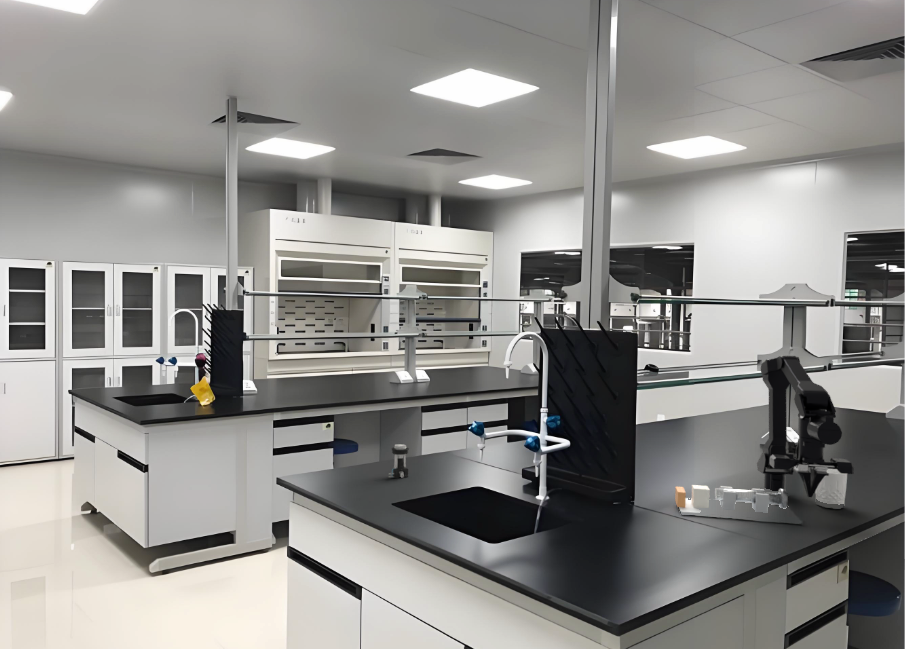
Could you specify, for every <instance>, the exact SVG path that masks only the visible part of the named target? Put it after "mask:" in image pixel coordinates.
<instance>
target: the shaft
mask: <svg viewBox="0 0 905 649" xmlns="http://www.w3.org/2000/svg"><path fill="white" fill-rule="evenodd" d="M723 491H735V492H736V502H745V503H752V502H755V496H756V493H763V494H768V495H769V504H771V505H779V507H780V508H783V509H786V508H787V506H788V502H789V500H788V499H789V498H788V497H789V496H787V493H788V492H787V489H786V488H785V489H779V491H778V492H765V491H752V489H751V490H750V489H749V490H748V489H737V488H736V489H734V488H733V489H724V488H720V487H715V488H714V498H715V499H714V500H719V501H720V500H723Z"/></svg>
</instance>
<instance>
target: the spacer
mask: <svg viewBox="0 0 905 649" xmlns="http://www.w3.org/2000/svg"><path fill="white" fill-rule="evenodd" d="M710 491H711V489H710V488H709V486H708V485H700V484H699V485H697V484H691V497H690V498H691V503H692V505H693V507H697V508H709V500H710V498H711V497H710Z"/></svg>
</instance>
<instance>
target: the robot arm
mask: <svg viewBox="0 0 905 649" xmlns="http://www.w3.org/2000/svg"><path fill="white" fill-rule="evenodd" d="M760 373H761V375H762V381H763V383H764V384H765V386H766V388H767V389H768V439H767V440H766V442H765V443H764V444H763V446H762V452H761V454H760V457H759V458H758V460H757V463H756V466H757V471H759V472H760V473H762V474H763V488H766V489H770V490H772V491H779V489H786V475H791V476H792V475H794V472H795V473H797V474H798V475H799V476H800V478H801V481H802V483H803V487H804V489H805V493H806V495H807V497H808V498H812V497H813V496H814V494H815V491H816V489H817V487H818V485H819V483H820V482H821V481H822V479H823V478H824V476H829V473H827V470H828V469H837V470H838V471H839V472H840V473H843V474H847V475H854V472H855V467H854V464H853V463H852V462H851V461H849V460H848V459H846V458H837V457H834V458H833V457H831V458H830V460H829V461H827V460H825V459H824V453H825V452H824V450H825V448H826V445H827V446H828V445H836V444H837V443H839V442H840V440H841V439H842V436H843V432H842V428H841V427H840V425H839V424H838V423H837V422H834V420H835V418H836V412H837V411H836V408H835V406H834V405H835V404H834V403H833V399H832V397H831V395H830V393H829V392H828V391H827V390H826V389H825V388H824V387H823V386H822V385H820V384H817V383H815V382H814V381H813V380H812V378H811V377H810V376H809V374H808V373H807V371H806V369H805V368H804V367H803V366H802V364H801V361H800V357H799V356H796V355H781V356H779V355H778V357H777V356H776V357H774V358H770V359H769V358H767V359H765V360H764V361H763V362H762V363H761V365H760ZM789 386H791V387H792V389H793V390H794V392H795V395H794V399H793V400H794V403H795V406H796V408H797V410H798V414H797V416H798V417H799V421H798V422H799V425H798V426H799V428H798V429H799V431H798V432H799V433H798V438H797V444H796V442H795V441H789V440H788V439H787V438H788V436H787V434H788V433H787V430H788V429H787V428H788V427H787V426H788V425H787V419H788V418H787V389H788V388H789ZM809 470H810V471H809Z"/></svg>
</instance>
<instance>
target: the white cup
mask: <svg viewBox="0 0 905 649" xmlns="http://www.w3.org/2000/svg"><path fill="white" fill-rule="evenodd" d="M827 473H829V476H824V478H823V479H822V481H821V482H820V483H819V485H818V487H817V489H816V491H815V492H814V494H815V500H816V499H817V500H818V501H820V502H823V503H827V504H838V505H840V504H844V505H845V499H846V493H847V492H846V491H847V480H848V474H843V473H840V472H839V471H838V470H837V469H828V470H827Z"/></svg>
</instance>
